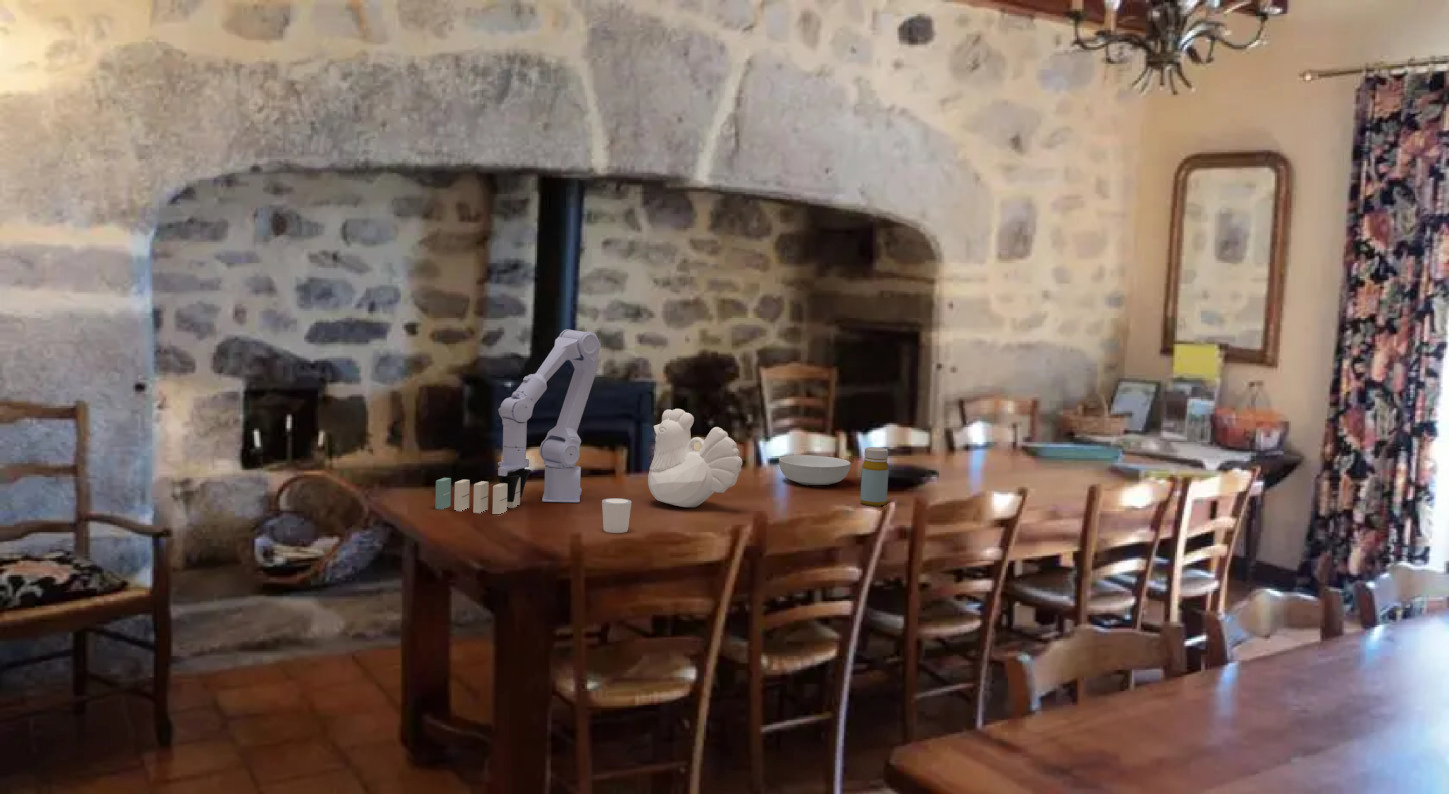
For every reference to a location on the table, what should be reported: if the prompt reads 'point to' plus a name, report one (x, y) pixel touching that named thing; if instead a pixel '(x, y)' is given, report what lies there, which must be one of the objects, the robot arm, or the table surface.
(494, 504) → the tile
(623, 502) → the shot glass
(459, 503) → the tile
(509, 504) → the lead tile
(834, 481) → the serving bowl
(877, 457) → the bottle
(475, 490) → the tile
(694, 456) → the decorative rooster
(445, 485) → the tile
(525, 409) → the robot arm
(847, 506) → the table surface
